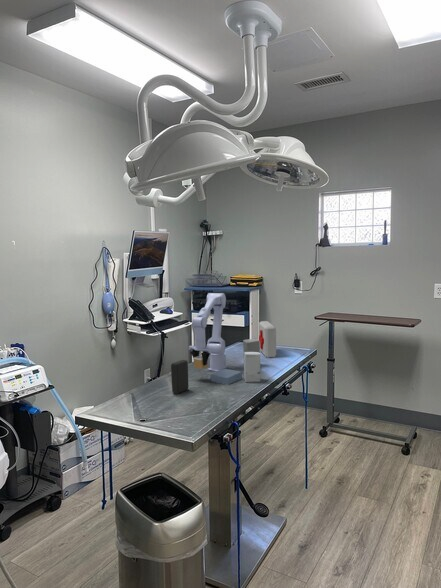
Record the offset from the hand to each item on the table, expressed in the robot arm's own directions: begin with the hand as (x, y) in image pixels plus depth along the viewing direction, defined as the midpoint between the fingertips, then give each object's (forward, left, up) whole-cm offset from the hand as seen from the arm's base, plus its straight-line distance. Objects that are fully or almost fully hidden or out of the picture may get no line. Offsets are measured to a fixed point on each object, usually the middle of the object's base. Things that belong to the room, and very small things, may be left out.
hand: (200, 364), depth 232 cm
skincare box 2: (-13, +24, -9) cm, 29 cm away
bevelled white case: (-65, +2, -9) cm, 66 cm away
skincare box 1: (-36, +9, -9) cm, 38 cm away
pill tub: (0, 0, -2) cm, 2 cm away
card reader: (+20, +3, -9) cm, 22 cm away
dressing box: (-7, +12, -9) cm, 16 cm away
